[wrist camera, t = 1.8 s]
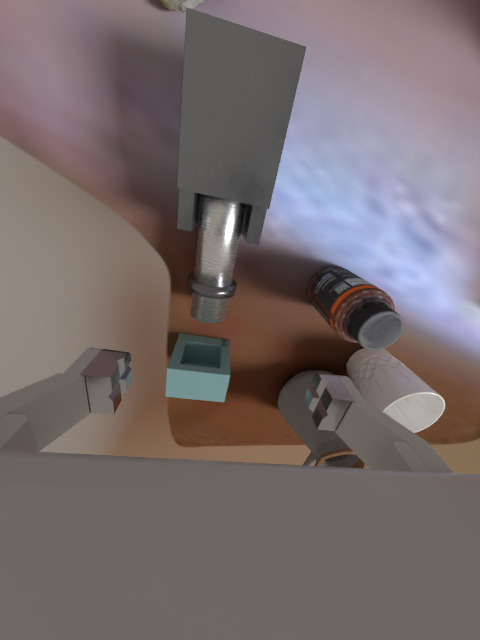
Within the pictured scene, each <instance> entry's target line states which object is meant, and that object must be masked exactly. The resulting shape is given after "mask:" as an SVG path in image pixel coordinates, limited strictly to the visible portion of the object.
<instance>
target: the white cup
mask: <svg viewBox="0 0 480 640" xmlns="http://www.w3.org/2000/svg"><path fill="white" fill-rule="evenodd" d="M346 368H347V373H348V375H349V376H350V378H351V380H352V381H353V383H354V385H355V387H356V388H357V390H358V391H359V392H360V394H361V395H362V396H363V398H364V399H365V401H366V402H367V403H371V404H372V405H374V406H375V407H377V408H378V409H379V410H381V411H382V412H384V413H385V414H387V415H388V416H390V417H391V418H393V419H394V420H395V421H397V422H398V423H400V424H401V425H403V426H404V427H406V428H407V429H409V430H410V431H411V432H413V433H416V432H419V431H421V430H423V429H425V428H427V427H429V426H430V425H432V424H433V423H434V422H435V421H437V420H438V419H439V417H440V416H441V415H442V413H443V411H444V409H445V401H444V399H443V398H442V397H441V396H440V395H439V394H438V393H437V392H435V391H434V390H433V389H432V388H431V387H430V386H428V385H427V384H426V383H425V382H424V381H423V380H422V379H420V378H419V377H418V376H417V375H416V374H415V373H413V372H412V371H411V370H410V369H409V368H407V367H406V366H405V365H404V364H403V363H401V362H400V361H399V360H397V359H396V358H394V357H393V356H392V355H391V354H390V353H389V352H388V351H387V350H385V349H384V348H383V349H379V350H369V349H366V348H362V349H360V350H358V351H356V352H355V353H354V354H353V355H352V356H351V357H350V358H349V360H348V362H347V364H346Z"/></svg>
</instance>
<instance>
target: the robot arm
mask: <svg viewBox="0 0 480 640" xmlns="http://www.w3.org/2000/svg"><path fill="white" fill-rule="evenodd" d="M130 361H131V355H130V353H129V352H123V351H115V350H108V349H99V348H88V349H86V350H85V352H83V354H82V355H81V356H80V357H79V358H78V359H77V360H76V361H75V362H74V363H73V364H72V365H71V366H70V367H69V368H68V369H67V370H66V371H65V372H64V373H63V374H62V373H58V374H56V375H53V376H51V377H48V378H46V379H44V380H41V381H39V382H37V383H34V384H32V385H29V386H27V387H24V388H22V389H19V390H17V391H15V392H12V393H10V394H8V395H5V396H3V397H0V640H480V475H477V474H458V473H453V471H452V470H451V469H450V468H449V467H448V466H447V464H446V463H445V462H444V461H443V460H442V459H441V457H440V456H439V455H438V454H437V453H436V451H435V450H434V449H433V448H432V447H431V446H430V444H429V443H427V442H426V441H425V440H423V439H422V438H420V437H419V436H417V435H416V434H414V433H413V432H411V431H410V430H409V429H407V428H406V427H404V426H403V425H401V424H400V423H398V422H397V421H395V420H394V419H393V418H391V417H390V416H388V415H387V414H385V413H384V412H382V411H381V410H379V409H378V408H377V407H375V406H374V405H372V404H371V403H367V402H366V401H365V399H364V398H363V396H362V395H361V394H360V392H359V391H358V390H357V388H356V387H355V385H354V384H353V383H352V381H351V380H350V378H348V377H347V376H338V375H336V376H334V375H325V374H315V375H314V376H313V378H312V383H313V384H312V385H311V386H309V387H308V389H307V392H306V403H307V406H308V408H309V409H310V410H311V411H312V412H313V414H312V418H313V420H314V423H315V425H316V428H317V429H318V430H328V431H336V434H337V435H338V436H339V437H340V438H341V439H342V440H343V441H344V442H345V443H346V444H347V445H348V446H349V447H350V448H351V449H352V451H353V452H354V453H355V454H356V455H357V456H358V457H359V458H360V459H361V460H362V461H363V462H364V463H365V464H366V465H367V466H368V467H369V469H362V468H343V467H323V466H304V465H284V464H265V463H264V464H263V463H245V462H226V461H207V460H188V459H187V460H186V459H168V458H149V457H129V456H110V455H91V454H71V453H70V454H69V453H51V452H39V451H40V450H42V449H43V448H44V447H46V446H47V445H48V444H50V443H51V442H53V441H54V440H55V439H57V438H58V437H59V436H61V435H62V434H63V433H65V432H66V431H67V430H68V429H70V428H72V427H73V426H74V425H76V424H77V423H78V422H80V421H81V420H82V419H84V418H85V417H87V416H88V415H89V414H90V413H107V414H114V413H115V411H116V409H117V408H118V406H119V404H120V402H121V394H123V393H125V392H126V391H127V389H128V387H129V384H130V380H131V368H130V367H129V366H128V365H129V363H130Z"/></svg>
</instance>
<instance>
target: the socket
mask: <svg viewBox="0 0 480 640" xmlns="http://www.w3.org/2000/svg"><path fill="white" fill-rule="evenodd" d="M229 379H230V340H226V339H219V338H212V337H204V336H197V335H190V334H182V333H179V336H178V339H177V342H176V345H175V347H174V350H173V353H172V356H171V359H170V362H169V364H168V367H167V380H166V397H175V398H185V399H196V400H206V401H216V402H224V401H225V397H226V392H227V388H228V384H229Z"/></svg>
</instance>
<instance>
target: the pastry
mask: <svg viewBox="0 0 480 640" xmlns="http://www.w3.org/2000/svg"><path fill="white" fill-rule="evenodd" d="M160 1H161V2H162V4H163V6H164V7H165V8H167V9H168V10H170V11H171V10H174V11H177V10H181V11H182V12H185V11H186V10H187V8H190V9H194V8H195V7H196V6H198V5H200V4H201V3H203V2H204V1H205V0H160Z"/></svg>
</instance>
